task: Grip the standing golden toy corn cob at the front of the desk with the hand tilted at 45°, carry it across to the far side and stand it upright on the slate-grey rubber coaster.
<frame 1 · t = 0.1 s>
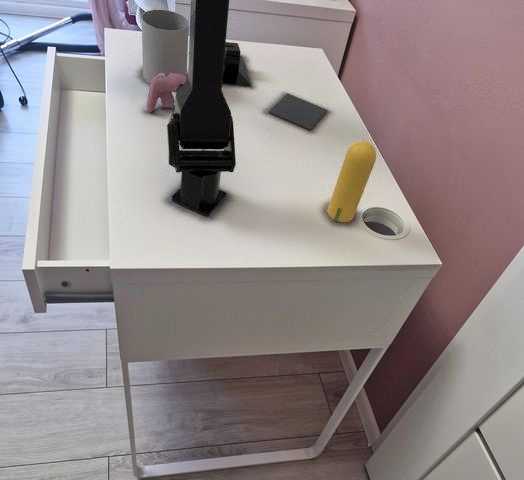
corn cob: (340, 213, 81), on the table
coaster: (298, 112, 98), on the table
dark flat-based piece: (229, 71, 103), on the table
cup: (164, 77, 97), on the table
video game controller: (175, 111, 91), on the table
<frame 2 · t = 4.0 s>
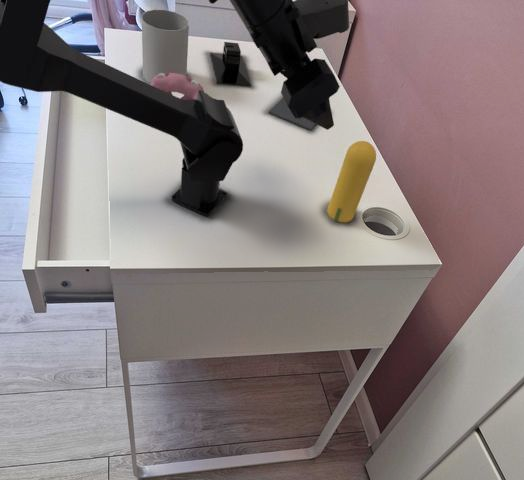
hand: (320, 108, 70), 15 cm above the table, tool tilted 40°, fingers open, 9 cm apart
nothing on the table moved.
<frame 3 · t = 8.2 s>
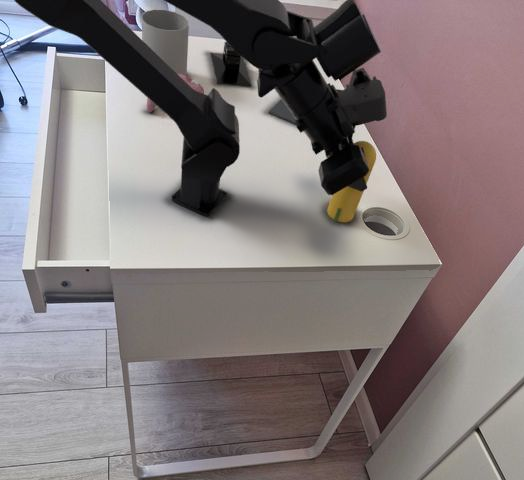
hand: (361, 179, 76), 7 cm above the table, tool tilted 45°, fingers closed on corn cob, 4 cm apart
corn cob: (340, 213, 81), on the table, touching gripper
everything else where it was.
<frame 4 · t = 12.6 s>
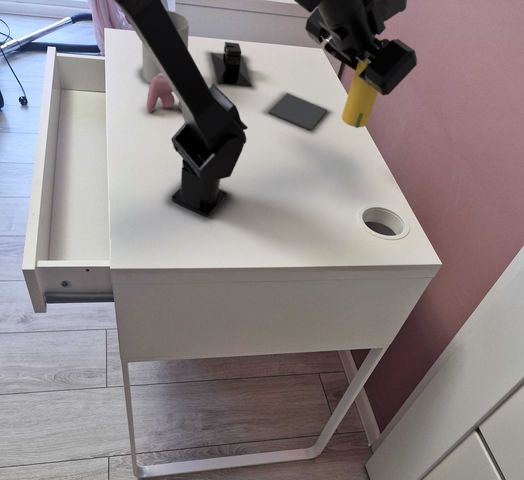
hand: (373, 79, 79), 14 cm above the table, tool tilted 45°, fingers closed on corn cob, 4 cm apart
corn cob: (354, 120, 84), point 8 cm above the table, touching gripper
everything else where it was.
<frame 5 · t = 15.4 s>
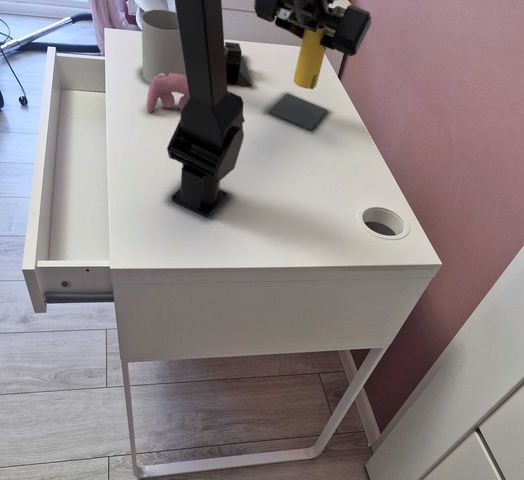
hand: (317, 42, 88), 12 cm above the table, tool tilted 45°, fingers closed on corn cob, 4 cm apart
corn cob: (305, 82, 93), point 6 cm above the table, touching gripper
everything else where it was.
when the fingers open (7 cm above the table, at t = 17.3 s): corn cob stays where it is, resting on coaster.
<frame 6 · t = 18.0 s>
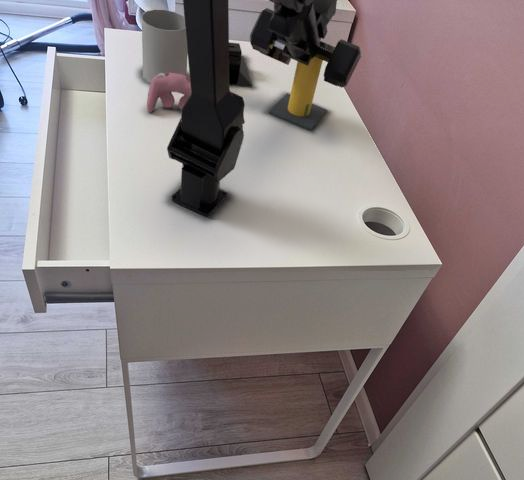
hand: (310, 71, 93), 7 cm above the table, tool tilted 45°, fingers open, 9 cm apart
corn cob: (298, 110, 97), resting on coaster
everything else where it was.
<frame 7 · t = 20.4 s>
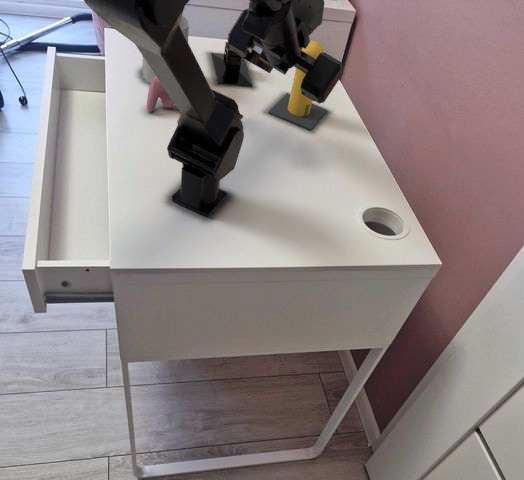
hand: (291, 83, 86), 9 cm above the table, tool tilted 40°, fingers open, 9 cm apart
nothing on the table moved.
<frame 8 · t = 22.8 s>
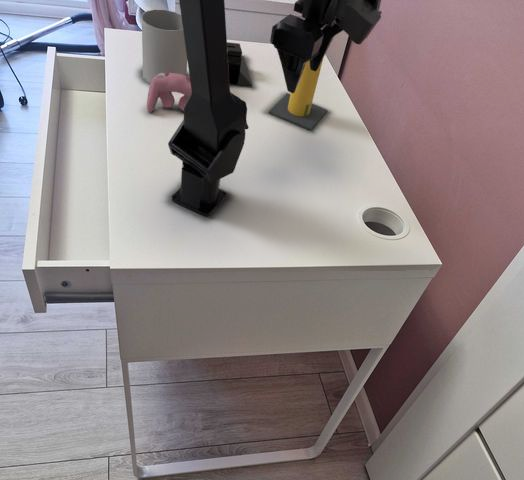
hand: (302, 80, 78), 13 cm above the table, tool pointing down, fingers open, 9 cm apart
nothing on the table moved.
at the end: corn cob inside the target area on the coaster (0.0 cm from its centre), point 0.4 cm above the coaster's base; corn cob tilted 0°; the gripper is holding nothing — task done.
